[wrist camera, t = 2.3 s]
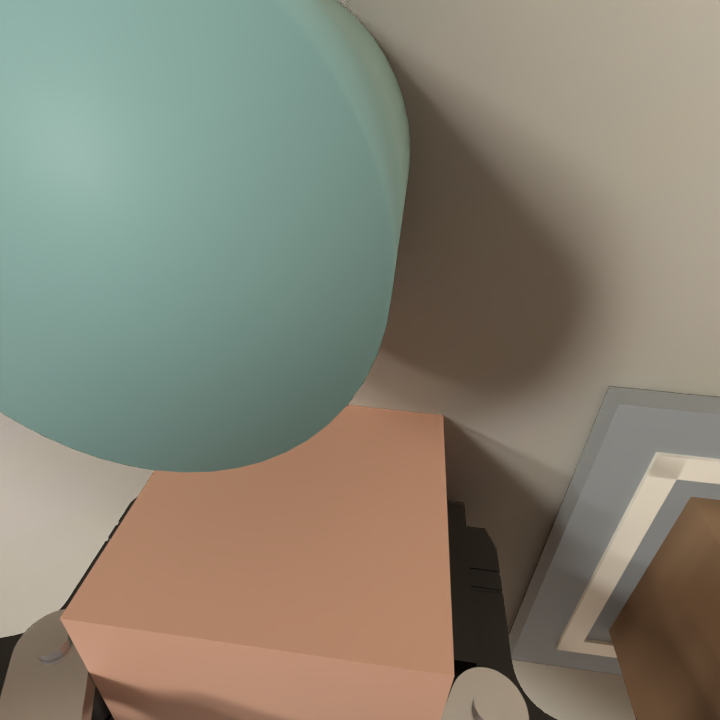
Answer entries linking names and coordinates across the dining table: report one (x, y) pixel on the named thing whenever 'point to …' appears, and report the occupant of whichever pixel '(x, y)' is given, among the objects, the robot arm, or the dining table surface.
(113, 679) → the terracotta block
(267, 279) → the mint green capsule
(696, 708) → the walnut block
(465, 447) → the dining table surface
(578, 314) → the dining table surface
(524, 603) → the mat
